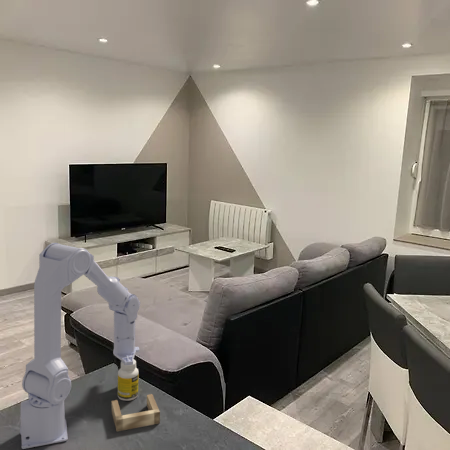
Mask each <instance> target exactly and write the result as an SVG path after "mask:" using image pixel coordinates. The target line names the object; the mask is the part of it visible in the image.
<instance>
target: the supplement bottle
mask: <svg viewBox="0 0 450 450" xmlns="http://www.w3.org/2000/svg"><path fill="white" fill-rule="evenodd" d="M139 375H140V374H139V368H137V359H136V360H134V359H133V364H132V365H125V363H124V362H123V361H121V368H120V369H119V371H118V370H117V397H118V399H119V400H121V401H124V402H125V401H127V402H128V401H133V400H135V399H136V398H137V397H138V396H139V380H140V379H139Z"/></svg>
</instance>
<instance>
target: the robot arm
mask: <svg viewBox="0 0 450 450" xmlns="http://www.w3.org/2000/svg"><path fill="white" fill-rule="evenodd" d="M38 255H39V256H38V257H39V262H38V263H39V268H38V269H37V274H36V277H35V280H34V285H33V288H34V289H33V290H34V292H33V294H34V295H33V303H34V305H33V309H34V311H33V312H34V313H33V314H34V315H33V321H34V324H33V325H34V326H33V327H34V328H33V329H34V330H33V331H34V337H33V339H34V340H33V343H34V347H33V348H34V352H33V353H34V354H33V355H34V356H33V357H34V358H33V359H31V360H30V361H29V362H28V363H26V364H25V373H24V375H23V378H22V382H21V386H22V389H23V391H24V392H26V393H27V394H28V396H27V397H28V399H26V400H23V401H21V402H20V427H19V434H20V435H21V438H20V439H21V449H22V450H25V449H26V450H27V449H33V448H34V447H35V448H36V447H41V446H46V445H51V444H57V443H61V442H62V443H63V442H66V441H68V427H67V426H68V425H67V419H66V414H65V413H66V412H65V411H66V410H65V400H66V399H67V398H68V396H69V394H70V392H71V389H72V380H71V378H70V375H69V368H68V366H67V365H66V363H65V361H64V360H63V359H62V291H63V290H64V289H65V287H68V286H69V285H71V284H72V283H74V282H75V281H77V280H79V278H81V277H82V276H84V277H86V278H87V279H88V280H90V281H91V282H92V283H93V284H94V285H95V286H97V287H96V291H97V293H98V295H99V296H100V297H101V298H102V299H104V301H106V302H107V304H108V309H109V310H110V311H113V350H112V351H113V352H112V353H113V360H114V364H115V365H116V367H117V372H118V371H119V369H120V368H121V361H123V362H124V363H125V365H132V364H133V359H134V360H136V361H137V358H136V356H135V355H136V353H140V347H139V346H136V320H137V318H138V313H139V310H140V307H141V301H140V299H139V298H138V296H137V295H136V294H133V293H131V292H130V291H129V288H128V287H126V286H124V285H123V283H121V282H120V278H119V277H118V276H112V275H110V276H109V275H108V274H106V273H105V271H104V270H103V269H102V268H101V266H100V265H99V264H98V263H97V261H95V256H94V255H93V254H92V253H90V252H89V251H88V249H87V248H84V247H76V246H70V245H67V244H61V243H58V242H51V243H50V244H48V245H46V247H45V248H44V249H43V250H42V251H41V252H40V253H38Z"/></svg>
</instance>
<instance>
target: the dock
mask: <svg viewBox="0 0 450 450" xmlns="http://www.w3.org/2000/svg"><path fill="white" fill-rule="evenodd" d="M146 407H147V410H145V411H140V412H134V413H127V414H122V412H121V407H120V405H119V401H118V399H115V400H111V415H112V419H113V423H114V427H115V431H116V432H123V431H126V430H127V431H128V430H131V429H139V428H142V427H143V428H144V427H147V426H148V427H149V426H153V425H159V424H161V410H160V409H159V407H158V404H157V401H156V400H155V396H154V394H152V393H150V394H146Z"/></svg>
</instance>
